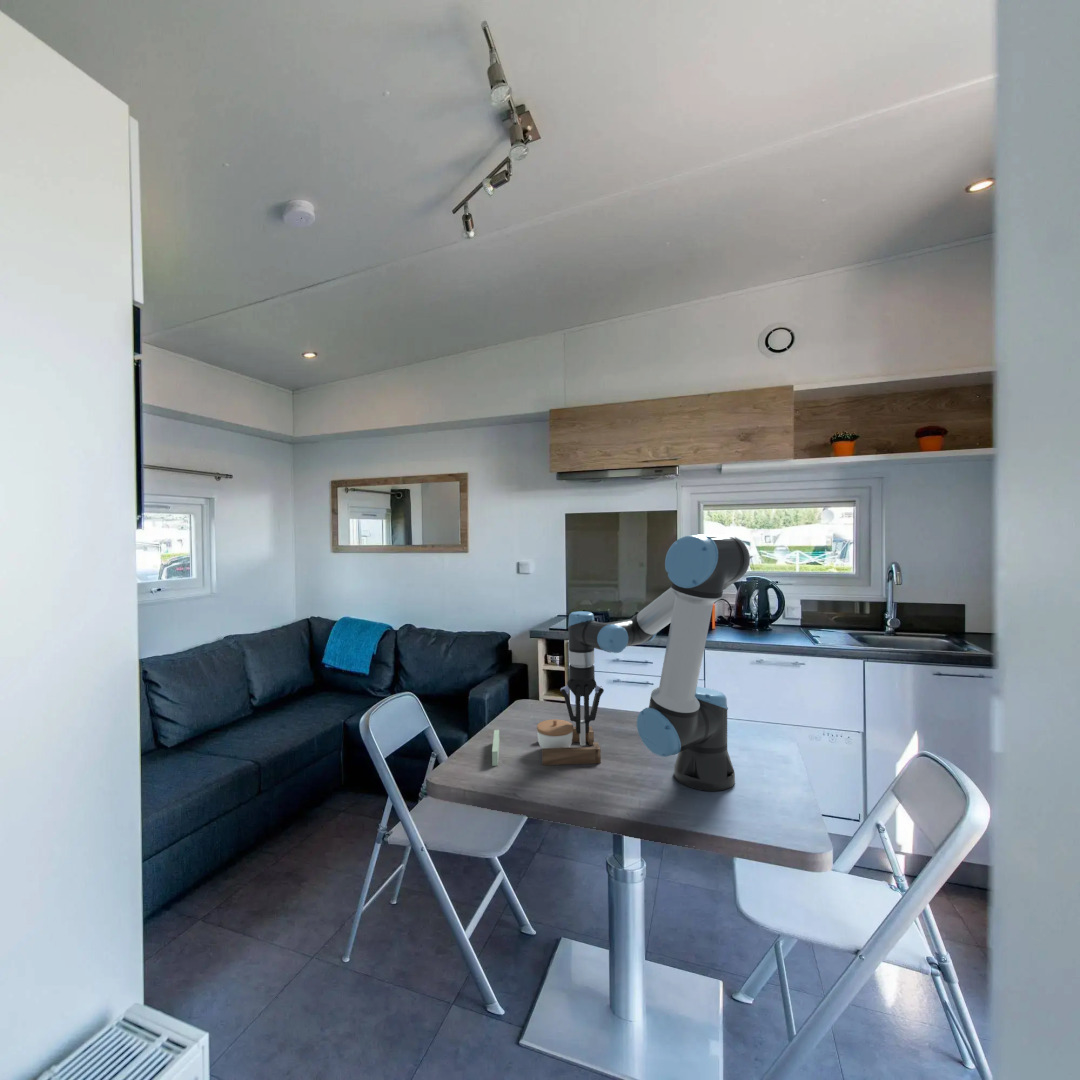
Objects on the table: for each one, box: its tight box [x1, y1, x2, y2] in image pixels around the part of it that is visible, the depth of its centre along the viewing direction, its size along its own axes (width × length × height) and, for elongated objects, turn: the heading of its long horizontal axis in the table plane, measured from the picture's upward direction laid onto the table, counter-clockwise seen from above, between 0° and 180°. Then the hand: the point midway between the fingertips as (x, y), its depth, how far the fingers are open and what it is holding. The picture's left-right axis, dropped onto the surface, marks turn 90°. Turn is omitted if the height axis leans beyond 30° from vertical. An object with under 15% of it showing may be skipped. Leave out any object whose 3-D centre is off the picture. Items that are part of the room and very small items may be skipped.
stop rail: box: [491, 729, 500, 767], centre depth 152 cm, size 16×2×4 cm, turn 3°
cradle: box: [541, 725, 602, 766], centre depth 153 cm, size 17×16×4 cm
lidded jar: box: [536, 719, 574, 749], centre depth 153 cm, size 11×11×9 cm
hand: (582, 743), depth 153 cm, fingers closed
